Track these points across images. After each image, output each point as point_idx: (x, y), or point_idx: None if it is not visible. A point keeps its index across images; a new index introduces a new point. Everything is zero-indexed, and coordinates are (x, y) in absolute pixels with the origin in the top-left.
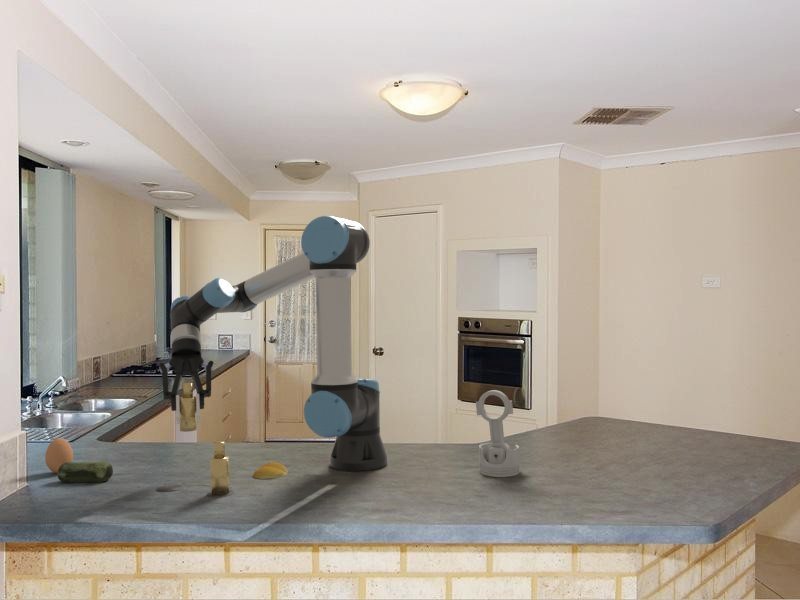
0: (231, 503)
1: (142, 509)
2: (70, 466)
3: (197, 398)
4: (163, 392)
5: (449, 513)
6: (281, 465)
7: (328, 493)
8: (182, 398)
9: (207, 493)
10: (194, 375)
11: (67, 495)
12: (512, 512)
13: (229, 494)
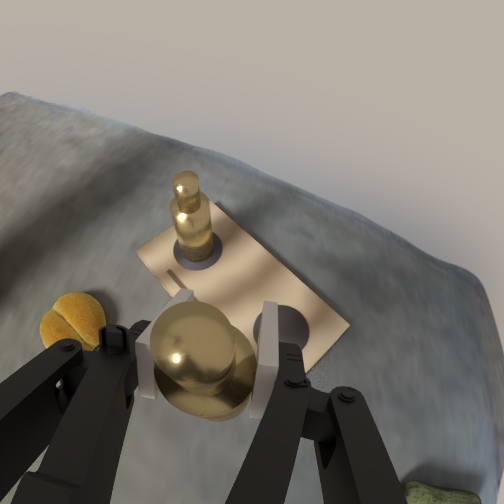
0: None
1: (329, 263)
2: (469, 497)
3: None
4: (360, 394)
5: (50, 124)
6: (45, 318)
7: (64, 208)
8: (241, 340)
9: (218, 257)
10: (81, 462)
11: (451, 407)
12: (27, 118)
13: None
